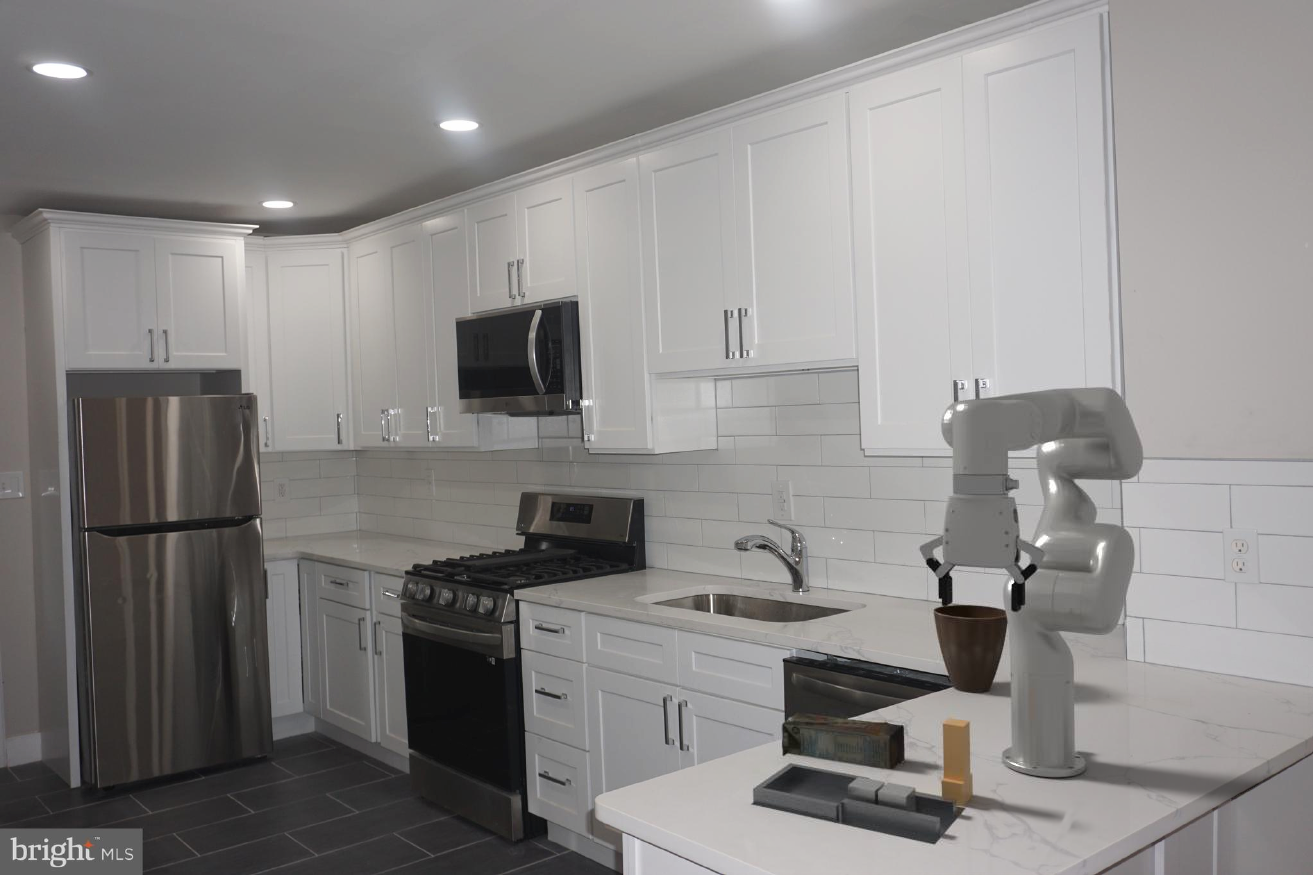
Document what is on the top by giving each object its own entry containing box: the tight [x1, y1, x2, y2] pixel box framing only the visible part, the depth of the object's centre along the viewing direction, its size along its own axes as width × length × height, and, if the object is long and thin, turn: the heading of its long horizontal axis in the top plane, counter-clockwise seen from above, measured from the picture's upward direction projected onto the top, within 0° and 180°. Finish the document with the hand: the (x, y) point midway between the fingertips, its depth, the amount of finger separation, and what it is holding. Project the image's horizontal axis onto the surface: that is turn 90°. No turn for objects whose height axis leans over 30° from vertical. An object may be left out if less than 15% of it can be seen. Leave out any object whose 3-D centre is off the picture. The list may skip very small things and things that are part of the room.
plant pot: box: [932, 604, 1008, 693], centre depth 207 cm, size 15×15×16 cm
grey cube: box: [878, 782, 917, 813], centre depth 140 cm, size 4×4×4 cm
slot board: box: [751, 762, 966, 845], centre depth 143 cm, size 14×27×3 cm, turn 57°
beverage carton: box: [781, 712, 906, 770], centre depth 166 cm, size 8×19×7 cm, turn 61°
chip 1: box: [848, 776, 886, 805], centre depth 143 cm, size 4×4×4 cm
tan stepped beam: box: [941, 717, 974, 807], centre depth 145 cm, size 5×3×12 cm, turn 147°
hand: (981, 607), depth 142 cm, fingers open, 9 cm apart
